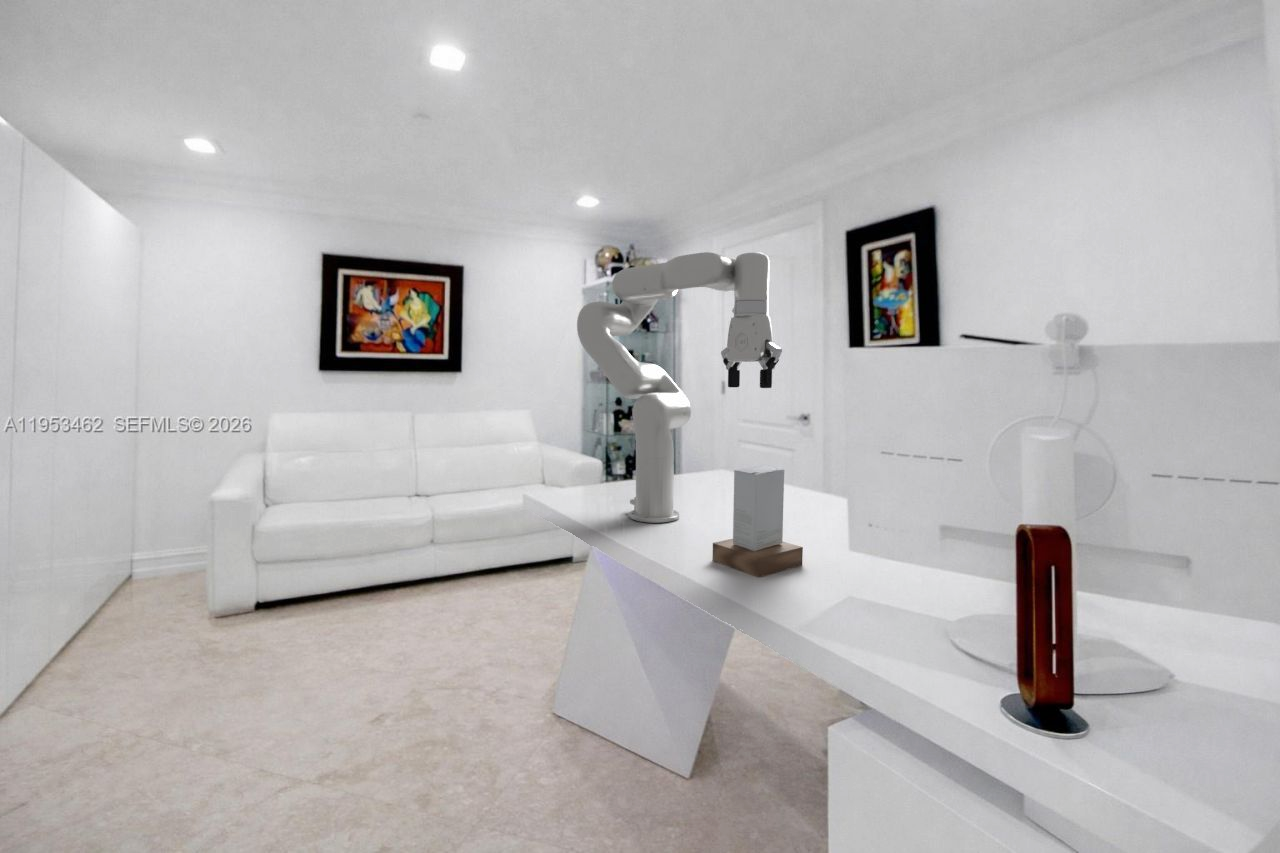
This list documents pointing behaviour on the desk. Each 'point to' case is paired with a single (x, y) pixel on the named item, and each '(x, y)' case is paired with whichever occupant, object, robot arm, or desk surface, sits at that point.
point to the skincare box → (758, 507)
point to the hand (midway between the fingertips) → (749, 387)
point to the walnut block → (758, 557)
